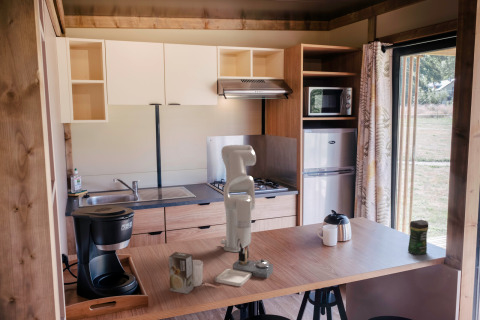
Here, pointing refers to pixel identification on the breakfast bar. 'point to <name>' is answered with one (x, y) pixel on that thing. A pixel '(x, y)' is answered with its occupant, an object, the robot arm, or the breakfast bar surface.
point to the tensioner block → (255, 267)
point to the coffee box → (181, 272)
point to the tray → (233, 277)
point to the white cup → (197, 272)
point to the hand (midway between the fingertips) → (243, 259)
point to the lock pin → (245, 256)
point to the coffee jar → (418, 237)
